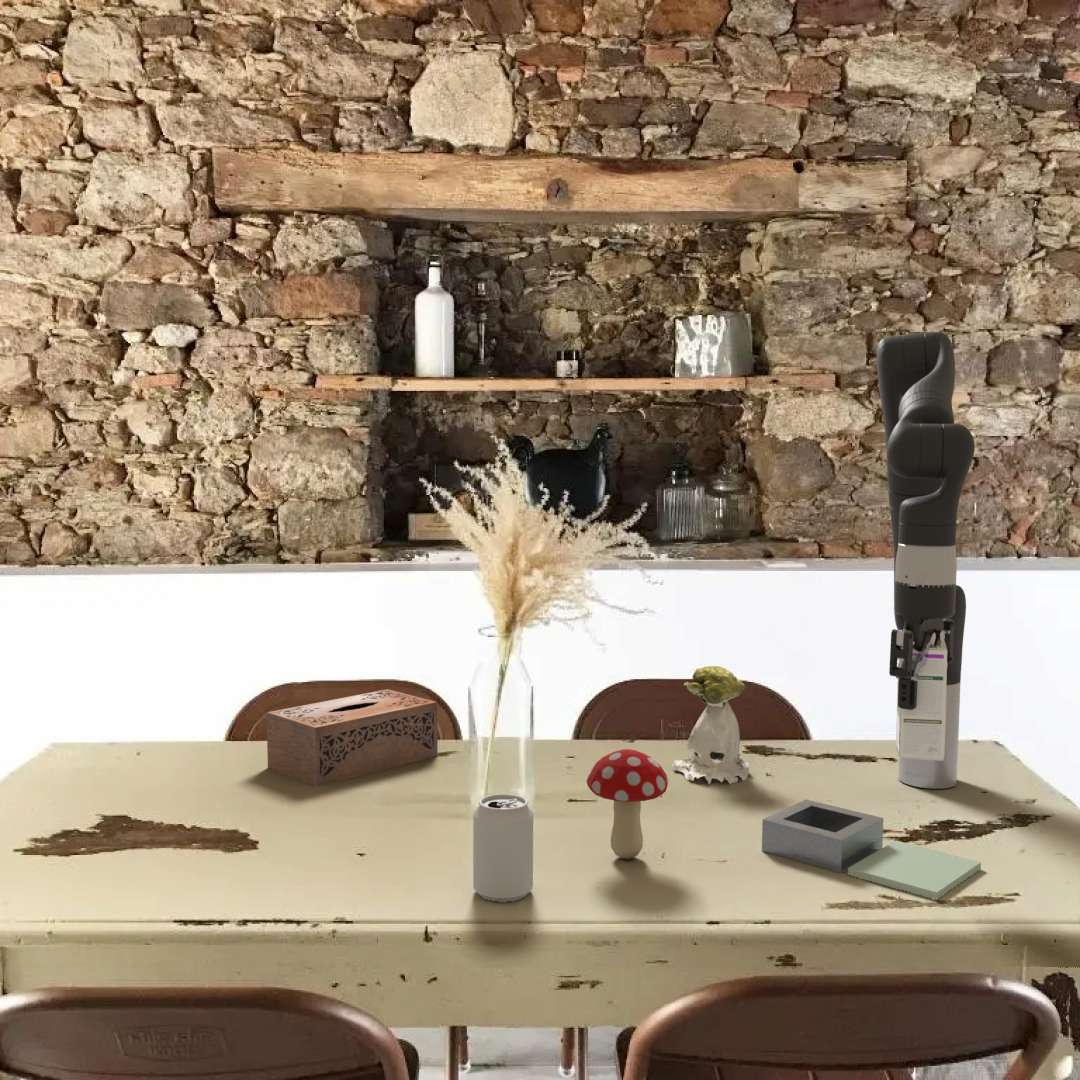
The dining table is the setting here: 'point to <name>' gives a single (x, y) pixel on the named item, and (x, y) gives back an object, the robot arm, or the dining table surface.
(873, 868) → the green mat
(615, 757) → the decorative mushroom
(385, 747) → the tissue box cover
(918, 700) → the syrup box
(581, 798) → the dining table surface
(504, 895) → the can
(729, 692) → the yellow capped mushroom
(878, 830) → the steel socket
